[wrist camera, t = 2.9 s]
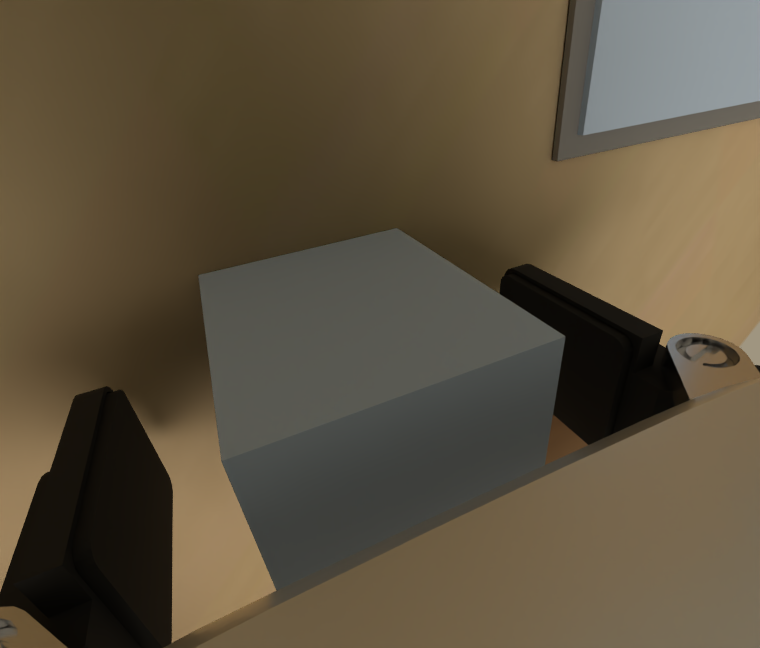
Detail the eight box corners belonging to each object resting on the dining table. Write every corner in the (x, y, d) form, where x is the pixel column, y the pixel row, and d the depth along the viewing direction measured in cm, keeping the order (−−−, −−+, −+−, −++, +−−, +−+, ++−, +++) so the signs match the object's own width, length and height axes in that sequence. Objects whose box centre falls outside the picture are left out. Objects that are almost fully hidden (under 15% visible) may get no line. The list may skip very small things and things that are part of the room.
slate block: (198, 274, 10) (221, 461, 5) (396, 227, 11) (565, 336, 6) (253, 430, 12) (303, 653, 8) (407, 376, 14) (533, 534, 9)
